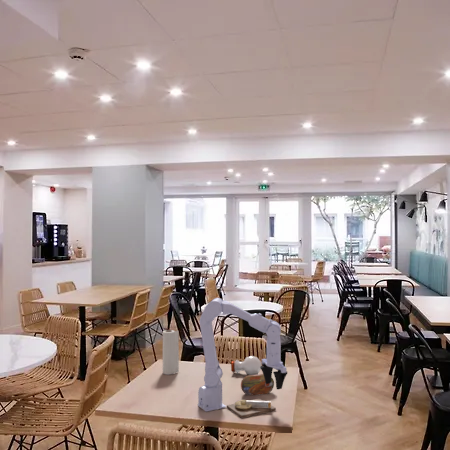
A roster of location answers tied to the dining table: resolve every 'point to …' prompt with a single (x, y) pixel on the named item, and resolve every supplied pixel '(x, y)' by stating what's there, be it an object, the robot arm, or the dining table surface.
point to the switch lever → (251, 404)
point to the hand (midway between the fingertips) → (273, 386)
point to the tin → (256, 385)
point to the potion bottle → (247, 365)
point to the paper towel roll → (170, 351)
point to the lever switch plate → (250, 410)
